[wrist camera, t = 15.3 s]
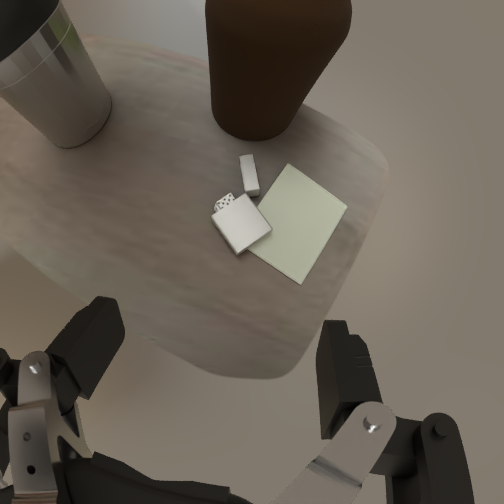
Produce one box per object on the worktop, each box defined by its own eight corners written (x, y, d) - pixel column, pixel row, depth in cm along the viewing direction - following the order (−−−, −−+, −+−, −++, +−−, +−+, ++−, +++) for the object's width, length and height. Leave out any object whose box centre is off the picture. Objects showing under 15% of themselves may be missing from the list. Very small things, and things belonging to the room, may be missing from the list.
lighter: (236, 253, 26) (189, 186, 27) (236, 256, 28) (192, 192, 28) (298, 210, 27) (249, 148, 27) (295, 215, 28) (248, 156, 29)
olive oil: (231, 161, 29) (280, -76, 4) (191, 90, 29) (183, -106, 4) (313, 128, 30) (438, -37, 5) (270, 65, 30) (327, -100, 5)
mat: (234, 240, 28) (234, 239, 28) (286, 164, 29) (287, 163, 29) (299, 284, 29) (300, 284, 28) (345, 207, 30) (347, 206, 30)
